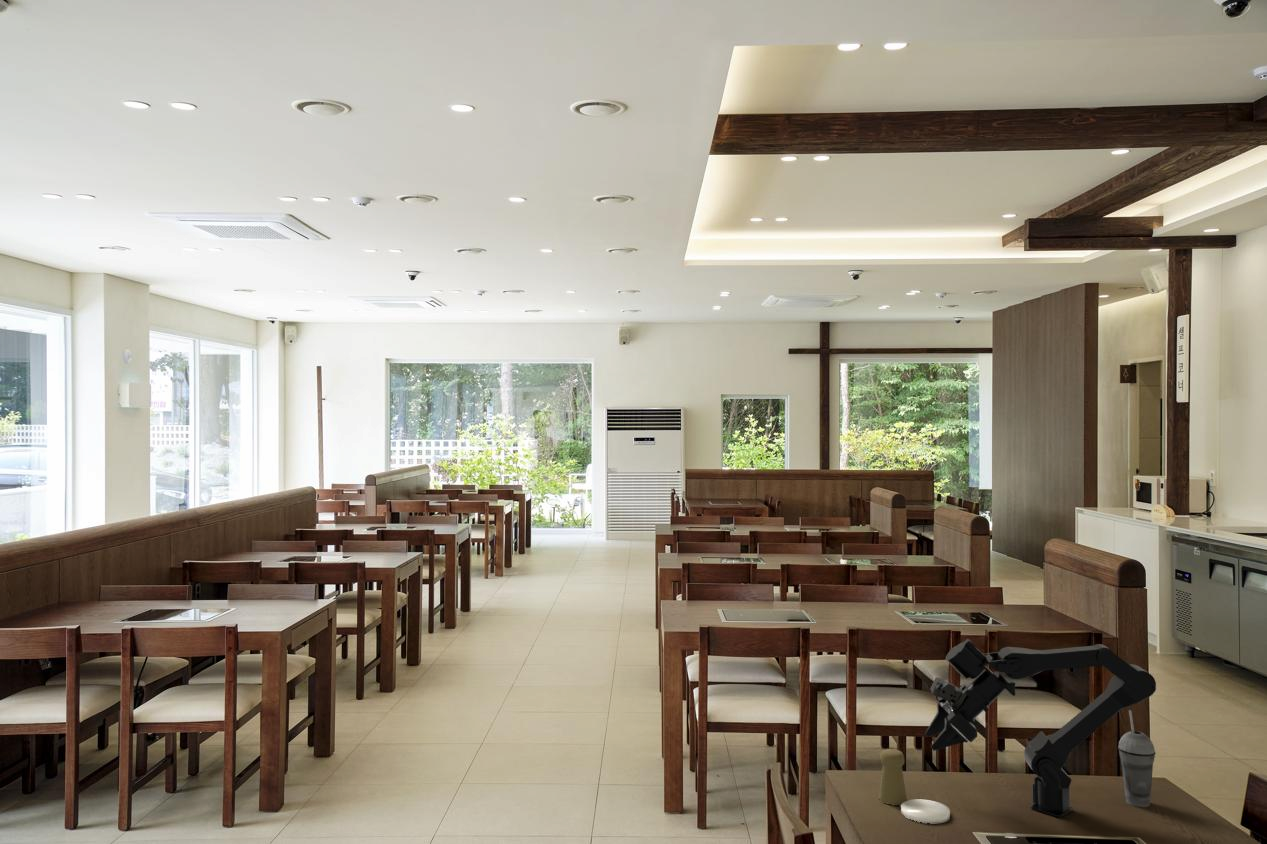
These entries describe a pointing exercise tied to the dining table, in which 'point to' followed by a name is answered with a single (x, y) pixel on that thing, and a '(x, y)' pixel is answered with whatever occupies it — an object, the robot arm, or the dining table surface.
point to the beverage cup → (1137, 766)
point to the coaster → (925, 811)
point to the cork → (892, 777)
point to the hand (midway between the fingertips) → (929, 741)
